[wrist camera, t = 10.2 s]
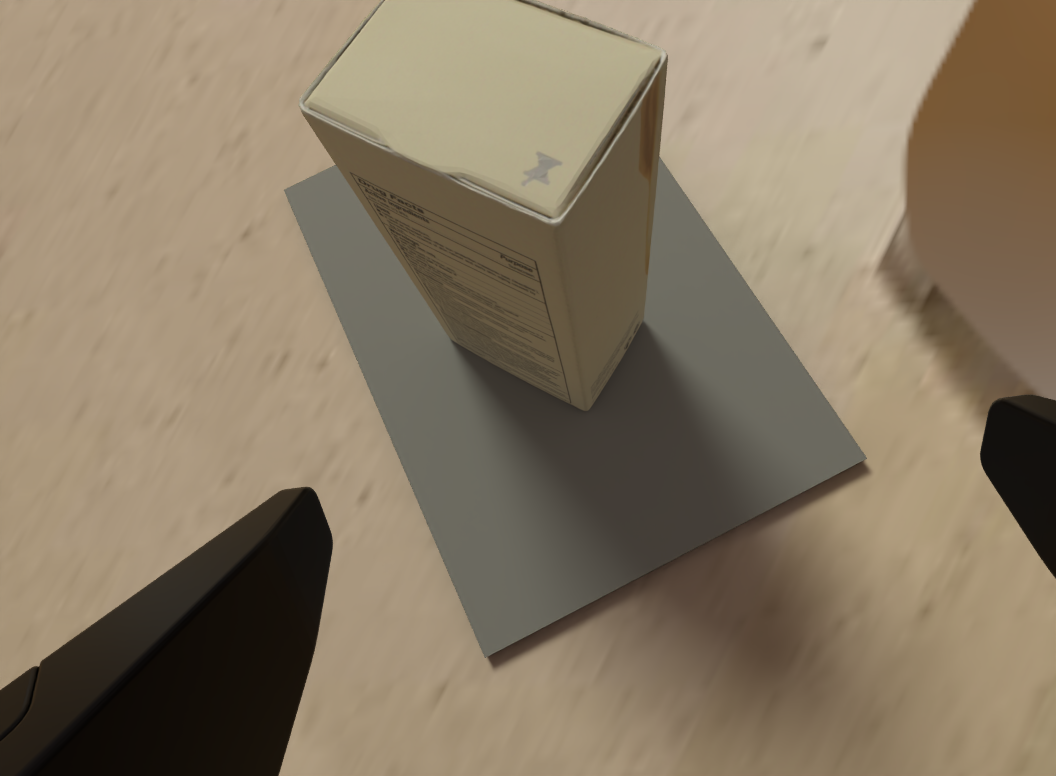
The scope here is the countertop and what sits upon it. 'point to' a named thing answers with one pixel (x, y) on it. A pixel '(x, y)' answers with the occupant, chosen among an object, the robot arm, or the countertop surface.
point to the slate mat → (579, 421)
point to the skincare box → (506, 174)
